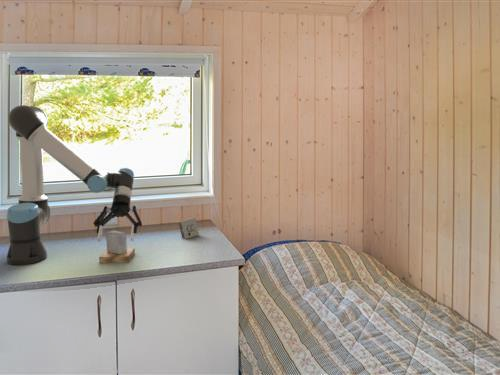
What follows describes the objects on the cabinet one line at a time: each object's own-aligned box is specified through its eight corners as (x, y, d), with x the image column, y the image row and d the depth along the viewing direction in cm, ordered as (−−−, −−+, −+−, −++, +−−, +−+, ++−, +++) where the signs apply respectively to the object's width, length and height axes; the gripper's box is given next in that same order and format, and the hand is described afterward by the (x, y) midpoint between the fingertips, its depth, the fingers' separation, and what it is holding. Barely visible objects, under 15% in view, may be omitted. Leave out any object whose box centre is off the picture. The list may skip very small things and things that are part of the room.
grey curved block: (127, 252, 178) (126, 232, 177) (119, 255, 174) (117, 235, 173) (115, 249, 182) (114, 230, 181) (106, 252, 178) (105, 232, 177)
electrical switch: (185, 239, 206) (184, 221, 205) (178, 238, 209) (177, 220, 208) (199, 235, 213) (197, 217, 212) (192, 235, 216) (190, 217, 216)
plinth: (99, 262, 172) (99, 257, 172) (107, 253, 184) (106, 248, 184) (128, 262, 173) (128, 256, 173) (134, 253, 185) (134, 247, 184)
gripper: (151, 202, 192) (146, 243, 179) (96, 203, 190) (87, 244, 177) (148, 193, 185) (144, 234, 173) (91, 194, 184) (82, 236, 171)
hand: (115, 239), depth 175 cm, fingers open, 13 cm apart
